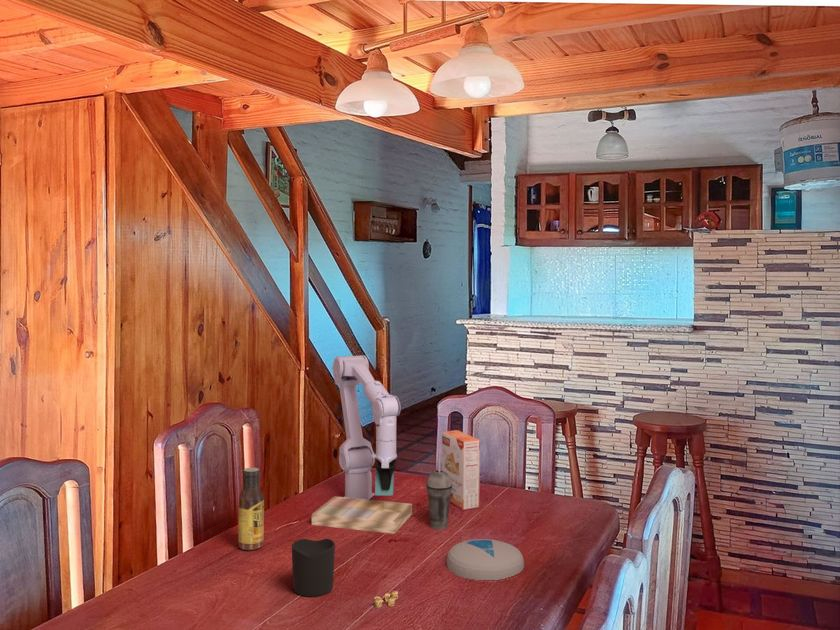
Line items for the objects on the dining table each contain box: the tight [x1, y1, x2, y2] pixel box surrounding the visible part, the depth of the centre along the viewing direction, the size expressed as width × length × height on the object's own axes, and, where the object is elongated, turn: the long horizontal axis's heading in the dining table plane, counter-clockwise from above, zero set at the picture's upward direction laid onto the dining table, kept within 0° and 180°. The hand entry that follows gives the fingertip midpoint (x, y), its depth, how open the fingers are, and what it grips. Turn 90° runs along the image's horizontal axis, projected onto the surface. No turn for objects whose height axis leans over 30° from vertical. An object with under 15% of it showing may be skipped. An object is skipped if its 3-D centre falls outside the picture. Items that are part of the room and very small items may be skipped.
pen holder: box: [291, 538, 336, 598], centre depth 162 cm, size 9×9×10 cm
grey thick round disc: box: [446, 538, 525, 581], centre depth 176 cm, size 18×18×5 cm
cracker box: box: [441, 429, 481, 511], centre depth 222 cm, size 14×6×21 cm, turn 25°
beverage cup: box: [425, 455, 453, 531], centre depth 201 cm, size 7×7×20 cm
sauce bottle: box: [237, 467, 265, 551], centre depth 186 cm, size 7×6×20 cm
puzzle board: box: [311, 495, 413, 535], centre depth 207 cm, size 24×16×3 cm
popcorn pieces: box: [374, 590, 399, 608], centre depth 156 cm, size 5×5×2 cm
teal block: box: [374, 469, 395, 496], centre depth 208 cm, size 5×5×6 cm
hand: (386, 486), depth 208 cm, fingers closed on teal block, 5 cm apart
